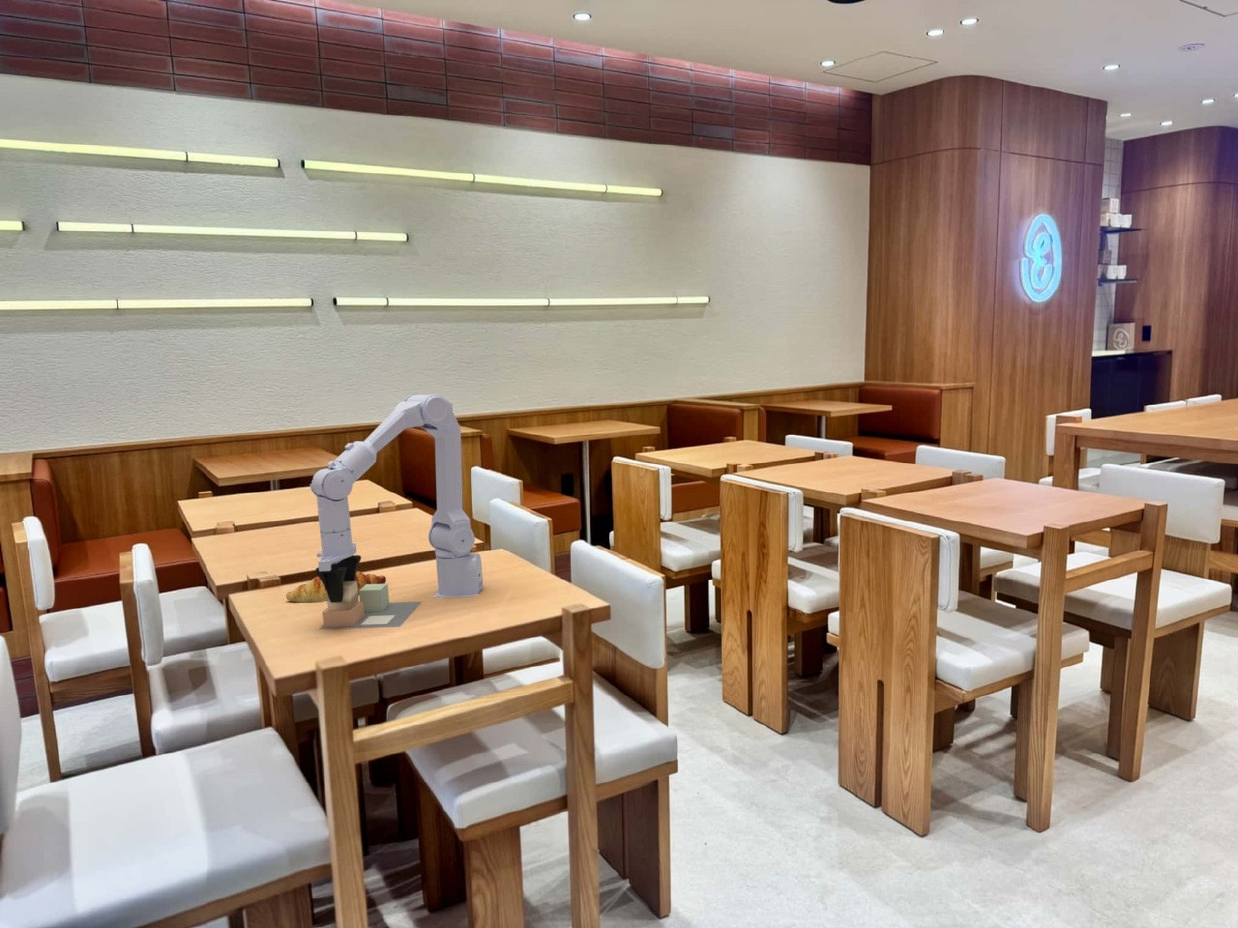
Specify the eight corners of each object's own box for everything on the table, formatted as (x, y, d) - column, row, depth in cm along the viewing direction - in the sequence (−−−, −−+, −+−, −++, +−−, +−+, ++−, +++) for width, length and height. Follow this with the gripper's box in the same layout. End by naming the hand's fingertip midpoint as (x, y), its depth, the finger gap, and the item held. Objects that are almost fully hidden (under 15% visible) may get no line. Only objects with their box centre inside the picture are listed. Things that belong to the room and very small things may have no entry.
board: (422, 603, 177) (422, 601, 177) (400, 629, 161) (399, 626, 161) (348, 606, 178) (348, 603, 178) (318, 631, 162) (318, 629, 162)
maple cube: (358, 602, 168) (356, 580, 167) (350, 609, 163) (348, 587, 163) (336, 603, 168) (334, 581, 167) (328, 610, 164) (325, 588, 163)
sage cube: (389, 604, 176) (387, 583, 175) (382, 611, 172) (380, 589, 171) (368, 605, 176) (366, 584, 176) (360, 611, 172) (358, 590, 171)
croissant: (289, 623, 180) (286, 596, 175) (284, 592, 187) (281, 565, 182) (390, 604, 188) (389, 578, 184) (381, 575, 195) (380, 549, 191)
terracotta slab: (364, 615, 169) (363, 601, 168) (354, 625, 163) (352, 610, 163) (335, 616, 169) (334, 602, 169) (323, 626, 163) (322, 611, 163)
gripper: (329, 522, 171) (336, 587, 173) (299, 539, 157) (307, 609, 158) (363, 521, 171) (369, 586, 172) (337, 537, 156) (343, 608, 158)
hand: (342, 597), depth 165 cm, fingers open, 5 cm apart
